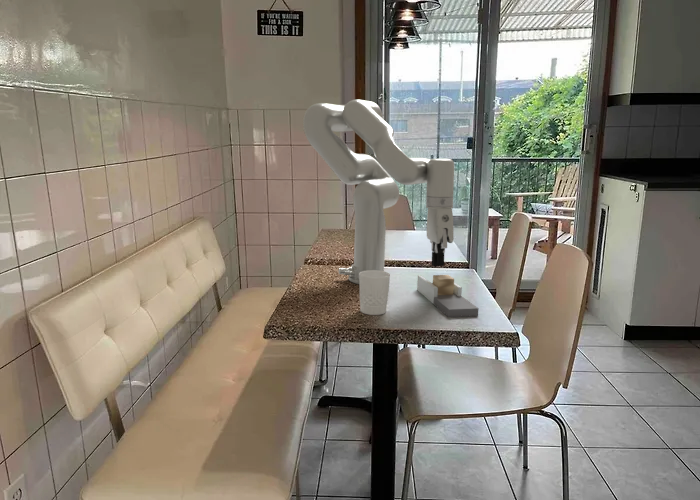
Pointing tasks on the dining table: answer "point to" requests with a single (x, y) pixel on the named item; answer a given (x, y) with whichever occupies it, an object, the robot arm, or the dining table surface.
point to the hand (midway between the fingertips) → (437, 265)
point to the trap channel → (447, 299)
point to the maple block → (444, 284)
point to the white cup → (373, 291)
